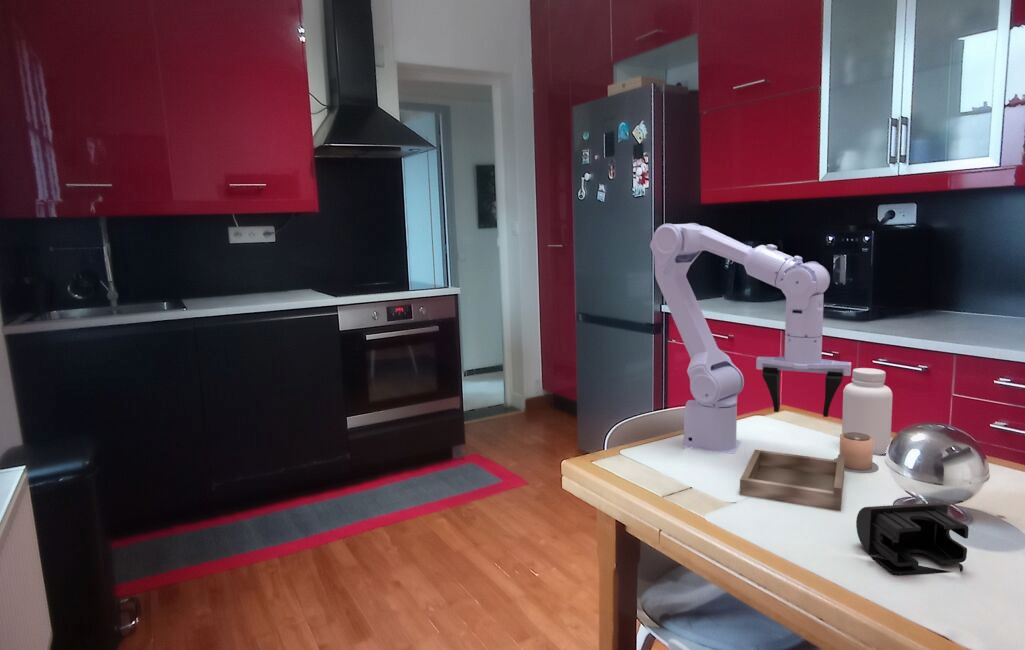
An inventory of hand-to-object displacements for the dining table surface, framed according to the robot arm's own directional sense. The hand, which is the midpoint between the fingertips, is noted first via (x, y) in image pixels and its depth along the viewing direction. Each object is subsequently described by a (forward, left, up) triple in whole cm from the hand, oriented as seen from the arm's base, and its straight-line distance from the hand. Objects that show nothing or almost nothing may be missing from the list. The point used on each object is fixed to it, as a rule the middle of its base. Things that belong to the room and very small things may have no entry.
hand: (800, 412), depth 108 cm
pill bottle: (+10, +15, -10) cm, 21 cm away
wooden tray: (0, -9, -10) cm, 14 cm away
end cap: (+15, -27, -10) cm, 33 cm away
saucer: (+9, +4, -10) cm, 14 cm away
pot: (+9, +3, -9) cm, 13 cm away
